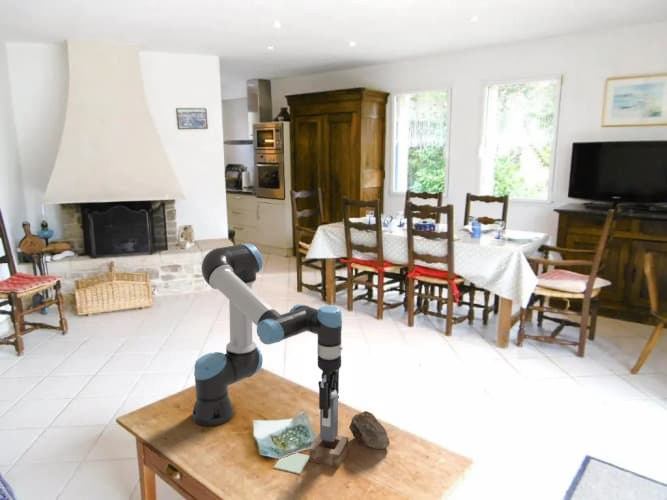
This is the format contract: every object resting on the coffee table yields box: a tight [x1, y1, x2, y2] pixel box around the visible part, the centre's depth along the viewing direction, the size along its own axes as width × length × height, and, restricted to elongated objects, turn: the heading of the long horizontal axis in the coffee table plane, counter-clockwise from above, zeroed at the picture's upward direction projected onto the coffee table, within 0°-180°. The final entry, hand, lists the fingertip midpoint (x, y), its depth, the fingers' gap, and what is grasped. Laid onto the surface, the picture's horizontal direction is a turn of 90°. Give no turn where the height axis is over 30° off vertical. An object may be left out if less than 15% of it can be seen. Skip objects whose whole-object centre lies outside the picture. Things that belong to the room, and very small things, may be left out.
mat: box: [273, 452, 310, 475], centre depth 153 cm, size 9×9×1 cm
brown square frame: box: [309, 432, 349, 468], centre depth 156 cm, size 10×10×4 cm
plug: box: [319, 389, 339, 442], centre depth 154 cm, size 5×5×16 cm
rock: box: [349, 410, 391, 450], centre depth 162 cm, size 15×8×15 cm
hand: (329, 421), depth 155 cm, fingers closed on plug, 4 cm apart
